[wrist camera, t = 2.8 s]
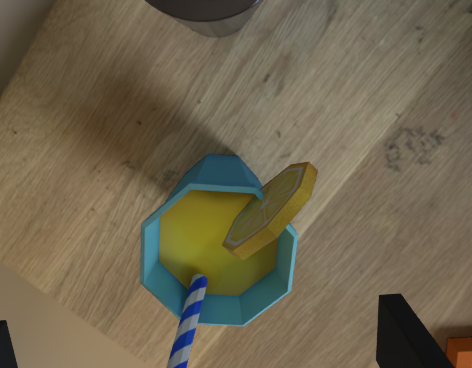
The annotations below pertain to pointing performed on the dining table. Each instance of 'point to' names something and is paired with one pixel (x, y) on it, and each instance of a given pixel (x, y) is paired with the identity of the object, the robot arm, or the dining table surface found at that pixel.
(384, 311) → the robot arm
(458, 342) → the orange rectangular block
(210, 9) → the sake bottle
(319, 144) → the dining table surface
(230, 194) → the cup
